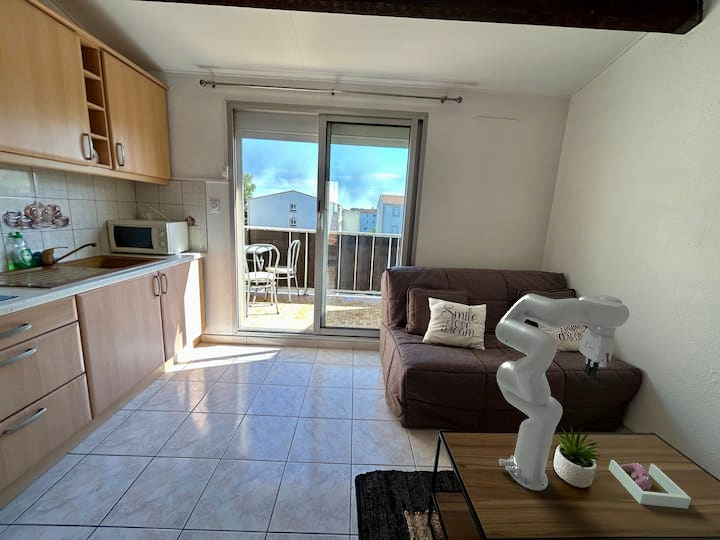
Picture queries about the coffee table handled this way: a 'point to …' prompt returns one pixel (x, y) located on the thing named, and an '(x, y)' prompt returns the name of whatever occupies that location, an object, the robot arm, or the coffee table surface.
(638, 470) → the video game controller
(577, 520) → the coffee table surface
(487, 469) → the coffee table surface
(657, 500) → the box
